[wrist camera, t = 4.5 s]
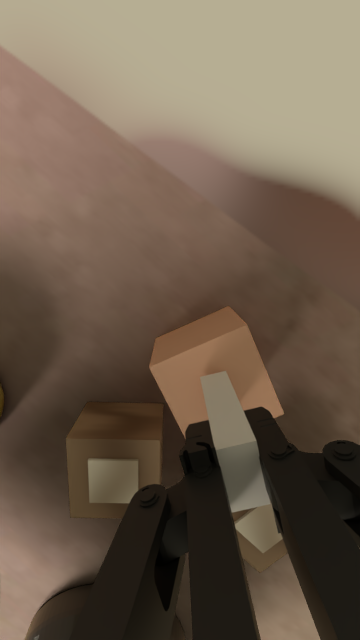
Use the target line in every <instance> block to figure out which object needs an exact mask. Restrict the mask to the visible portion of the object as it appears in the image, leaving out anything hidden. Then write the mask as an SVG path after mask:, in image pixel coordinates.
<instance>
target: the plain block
mask: <svg viewBox="0 0 360 640" xmlns="http://www.w3.org/2000/svg"><path fill="white" fill-rule="evenodd" d="M149 368H150V370H151V372H152V374H153V376H154V378H155V380H156V382H157V384H158V386H159V388H160V390H161V392H162V394H163V396H164V398H165V400H166V402H167V404H168V406H169V407H170V409H171V411H172V413H173V415H174V417H175V419H176V421H177V423H178V425H179V427H180V429H181V431H182V433H183V435H184V437H185V431H186V429H187V427H188V425H189V424H193V423H197V422H201V421H206V420H209V418H208V414H207V409H206V404H205V399H204V394H203V389H202V384H201V380H200V377H202V376H206V375H210V374H214V373H218V372H222V371H226V372H227V374H228V377H229V379H230V381H231V384H232V386H233V388H234V390H235V393H236V395H237V397H238V400H239V402H240V404H241V406H242V409H243V411H244V410H249V409H253V408H257V407H261V406H262V407H264V408H265V409H267V410H269V411H270V413H271V414H272V416H273V418H276V417H278V416H281V415H283V414H284V412H283V410H282V407H281V405H280V402H279V400H278V398H277V395H276V393H275V390H274V388H273V385H272V383H271V381H270V378H269V376H268V373H267V371H266V369H265V366H264V364H263V361H262V359H261V357H260V354H259V352H258V349H257V347H256V345H255V342H254V340H253V337H252V335H251V333H250V330H249V328H248V325H247V324H246V323H245V322H244V321H243V320H242V319H241V318H240V317H239V316H238V315H237V314H236V313H235V312H234V311H233V310H232V308H231V307H230V306H227V307H225V308H223V309H221V310H218V311H216V312H214V313H212V314H209V315H207V316H205V317H203V318H200V319H198V320H196V321H194V322H191V323H189V324H187V325H185V326H182V327H180V328H178V329H176V330H173V331H171V332H169V333H166V334H164V335H162V336H160V337H157V338H156V339H155V344H154V348H153V352H152V357H151V361H150V365H149Z"/></svg>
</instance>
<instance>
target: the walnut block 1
mask: <svg viewBox="0 0 360 640" xmlns="http://www.w3.org/2000/svg"><path fill="white" fill-rule="evenodd" d="M162 447H163V403H119V402H87V403H86V405H85V407H84V409H83V410H82V412H81V414H80V415H79V417H78V419H77V420H76V422H75V424H74V425H73V427H72V429H71V431H70V432H69V434H68V436H67V437H66V451H67V469H68V487H69V504H70V518H123V516H124V514H125V512H126V510H127V507H128V505H129V503H130V501H131V499H132V497H133V496H134V494H135V493H136V492H137V491H138V490H139V489H141V488H143V487H145V486H147V485H151V484H159V485H161V478H162Z"/></svg>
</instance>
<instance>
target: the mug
mask: <svg viewBox="0 0 360 640" xmlns="http://www.w3.org/2000/svg"><path fill="white" fill-rule="evenodd" d="M3 407H4V392H3V389H2V387H1V383H0V417H1V414H2V411H3Z"/></svg>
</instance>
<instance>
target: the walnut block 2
mask: <svg viewBox="0 0 360 640" xmlns="http://www.w3.org/2000/svg"><path fill="white" fill-rule="evenodd" d="M269 500H270V498H269ZM232 516H233V520H234V524H235V528H236V532H237V537H238V541H239V546H240V550H241V555H242V558H243V559H244V560H246V561H247V562H248V563H249V564H250V565H251V566H252V567H254V568H255V569H256V570H257V571H258V572H259V573H261V572H262V571H264V570H265V569H266V568H268V567H269V566H270V565H272V564H273V563H274V562H276V561H277V560H278V559H280V558H281V557H283V556H284V555H285V554H287V553H288V551H287V549H286V546H285V543H284V541H283V538H282V535H281V533H278V531H277V526H276V522H275V517H274V512H273V508H272V504H271V501H270V504H268V505H264V506H259V507H255V508H250V509H246V510H241V511H237V512H233V513H232Z"/></svg>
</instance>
